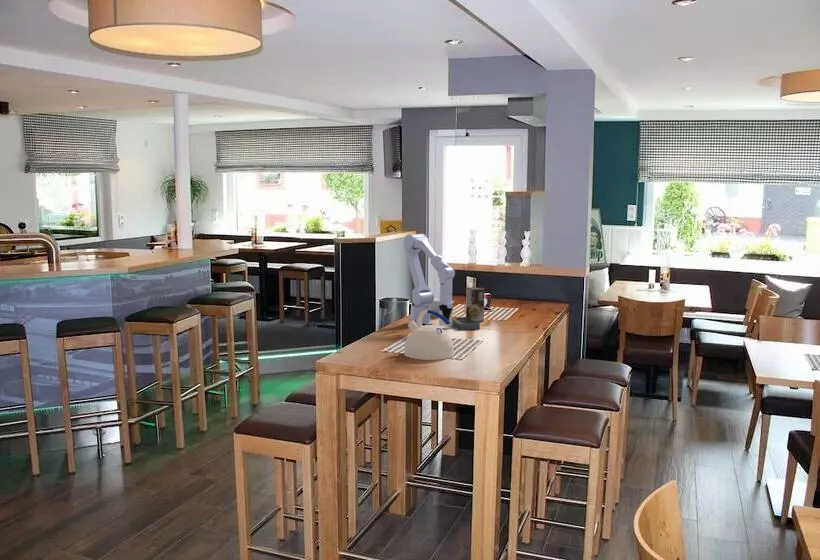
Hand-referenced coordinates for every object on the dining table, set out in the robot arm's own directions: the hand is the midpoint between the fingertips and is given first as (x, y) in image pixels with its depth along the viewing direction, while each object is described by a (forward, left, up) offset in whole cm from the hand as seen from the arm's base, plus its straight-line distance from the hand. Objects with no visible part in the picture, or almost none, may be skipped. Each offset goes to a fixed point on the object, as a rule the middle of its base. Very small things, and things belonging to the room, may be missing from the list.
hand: (445, 320), depth 339 cm
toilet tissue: (+7, +32, -4) cm, 33 cm away
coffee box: (+20, +17, -4) cm, 26 cm away
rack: (+10, +2, -3) cm, 11 cm away
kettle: (-21, -51, -4) cm, 55 cm away
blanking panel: (0, 0, -2) cm, 2 cm away
